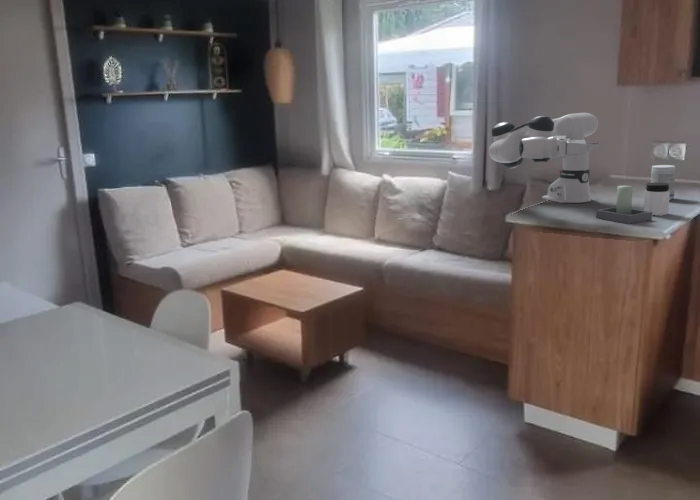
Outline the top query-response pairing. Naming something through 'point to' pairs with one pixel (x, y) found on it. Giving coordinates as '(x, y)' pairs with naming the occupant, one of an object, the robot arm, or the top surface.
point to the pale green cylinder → (624, 200)
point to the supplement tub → (664, 176)
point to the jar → (657, 198)
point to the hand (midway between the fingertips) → (598, 145)
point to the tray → (623, 215)
